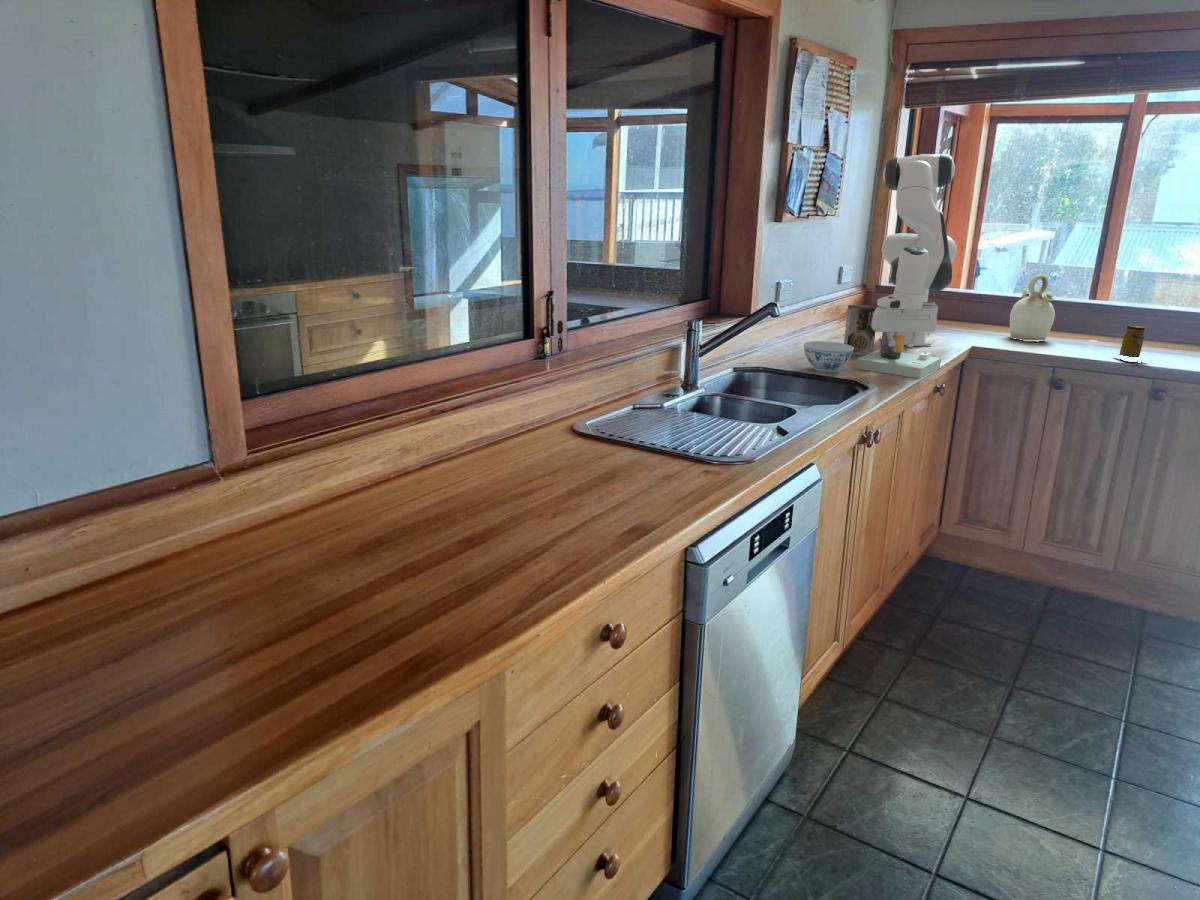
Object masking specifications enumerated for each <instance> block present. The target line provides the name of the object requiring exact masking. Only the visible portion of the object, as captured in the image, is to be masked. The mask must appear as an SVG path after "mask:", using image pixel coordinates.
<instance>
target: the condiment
mask: <svg viewBox="0 0 1200 900" xmlns="http://www.w3.org/2000/svg"><path fill="white" fill-rule="evenodd" d="M1145 329H1146V328H1145V327H1144V326H1140V325H1132V324H1129V325H1127V327H1126V330H1125V331H1126V332H1125V333H1124V334H1123V338H1122V342H1121V346H1120V350H1119V355H1123V356H1129V357H1139V358H1140V355H1141V352H1142V347H1143V345H1144V344H1143V343H1144V340H1145V336H1144V334H1145ZM1119 355H1118V356H1119Z"/></svg>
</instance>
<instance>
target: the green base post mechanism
mask: <svg viewBox="0 0 1200 900" xmlns="http://www.w3.org/2000/svg"><path fill="white" fill-rule="evenodd" d="M881 333H882V335H881V336H882V340H881V339H880V340H881V342H880V347H879V349H877V350H875V351H874V350H873V352H872V353H869V354H867V355H862V356H860V357H858V358H856V364H855V369H857V370H865V371H869V372H870V371H871V372H876V373H884V374H889V375H894V376H896V375H897V376H902V377H908V378H915V379H922V378H924V377H925V376H927V375H929V374H931V373H932V372H934V371H936V370H938V369H939V368H940V367H941V362H942V357H935V356H932V352H928V351H923V352H920V353H918V354H917V353H911V352H910V353H909V352H904V351H903V352H901V356H900V358H885V357H882V356H881V349H882V346H884V345H889V339H888V337H887V335H886V334H887V332H881ZM895 335H899V332H894V336H892V337H893V340H894V339H895Z"/></svg>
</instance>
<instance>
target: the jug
mask: <svg viewBox="0 0 1200 900" xmlns="http://www.w3.org/2000/svg"><path fill="white" fill-rule="evenodd" d="M1039 280H1041V281H1042V285H1041V287H1040V288H1039V290H1037V291H1036V290H1035V285H1036V283H1037V282H1038V281H1039ZM1048 285H1049V280H1048V278H1047V276H1046V275H1044V274H1037V275H1034V276H1033V277H1032V278H1031V279H1030V281H1029V283H1028V286H1027V288H1028V292H1027V290H1023V291H1022V295H1021V299H1019V300H1018V301H1016V302H1015V303H1014V305H1013V306H1012V307H1011V310H1010V314H1009V334H1010V335H1009V336H1010V337H1012V338H1016V339H1022V340H1045V341H1046V339H1047V338H1048V336H1049V333H1050V331H1051V329H1052V326H1053V323H1054V321H1055V317H1056V311H1055V308H1054V305H1053V304H1052V303H1051V302H1052V301H1054V296H1053V295H1051V294H1050V293H1045V292H1046V290H1047V288H1048V287H1049V286H1048Z"/></svg>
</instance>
